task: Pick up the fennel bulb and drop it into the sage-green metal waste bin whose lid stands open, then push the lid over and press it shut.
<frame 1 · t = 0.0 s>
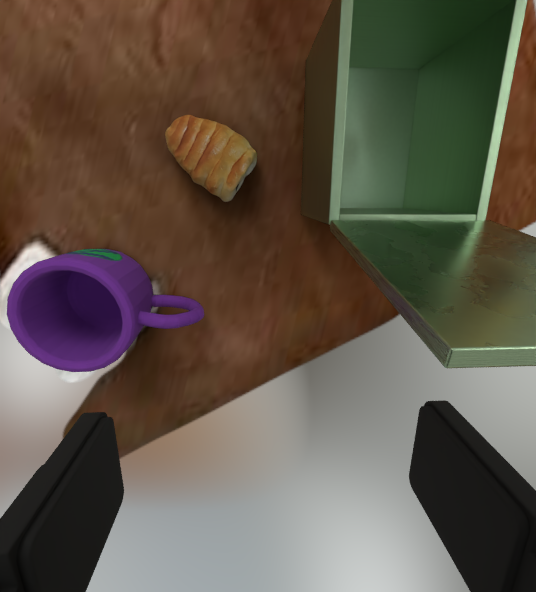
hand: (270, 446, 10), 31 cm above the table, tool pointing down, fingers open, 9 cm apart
pastry: (215, 160, 37), on the table
mug: (137, 292, 40), on the table
trash bin: (359, 143, 37), on the table
bin lid: (477, 263, 18), point 22 cm above the table, hinge at 100.0°
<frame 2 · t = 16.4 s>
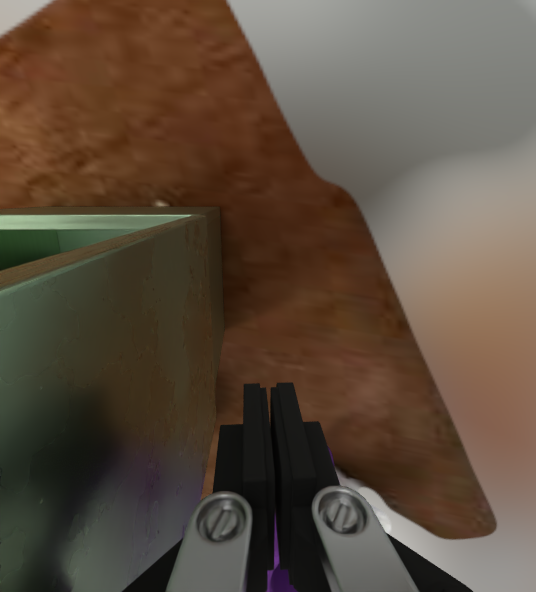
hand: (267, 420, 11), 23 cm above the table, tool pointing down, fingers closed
mug: (304, 474, 41), on the table
trash bin: (142, 272, 32), on the table
bin lid: (168, 414, 11), point 22 cm above the table, hinge at 88.0°, touching gripper
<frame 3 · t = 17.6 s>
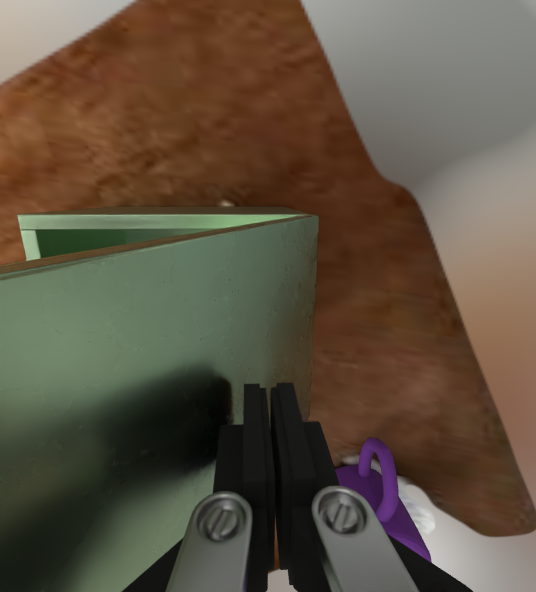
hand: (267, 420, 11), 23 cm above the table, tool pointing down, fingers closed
mug: (352, 472, 42), on the table
trash bin: (205, 272, 33), on the table
bin lid: (243, 397, 12), point 22 cm above the table, hinge at 63.0°, touching gripper
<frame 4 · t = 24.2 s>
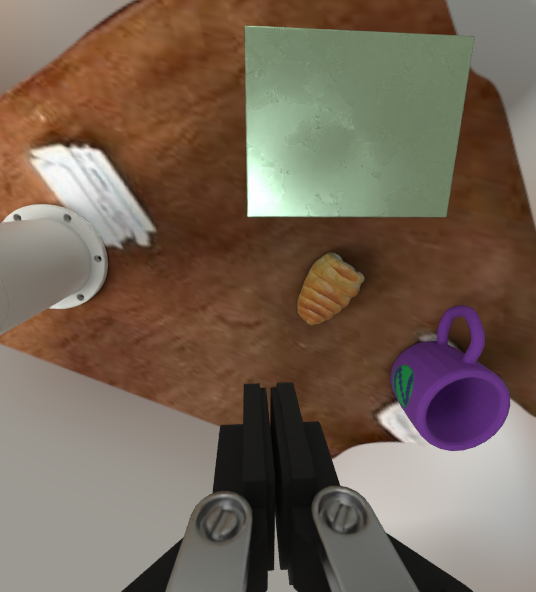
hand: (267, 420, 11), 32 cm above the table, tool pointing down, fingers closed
pastry: (327, 285, 44), on the table
mug: (426, 351, 48), on the table
bin lid: (354, 131, 25), point 14 cm above the table, hinge at 1.2°
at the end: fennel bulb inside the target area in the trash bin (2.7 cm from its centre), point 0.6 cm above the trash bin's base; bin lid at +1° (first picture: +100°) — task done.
